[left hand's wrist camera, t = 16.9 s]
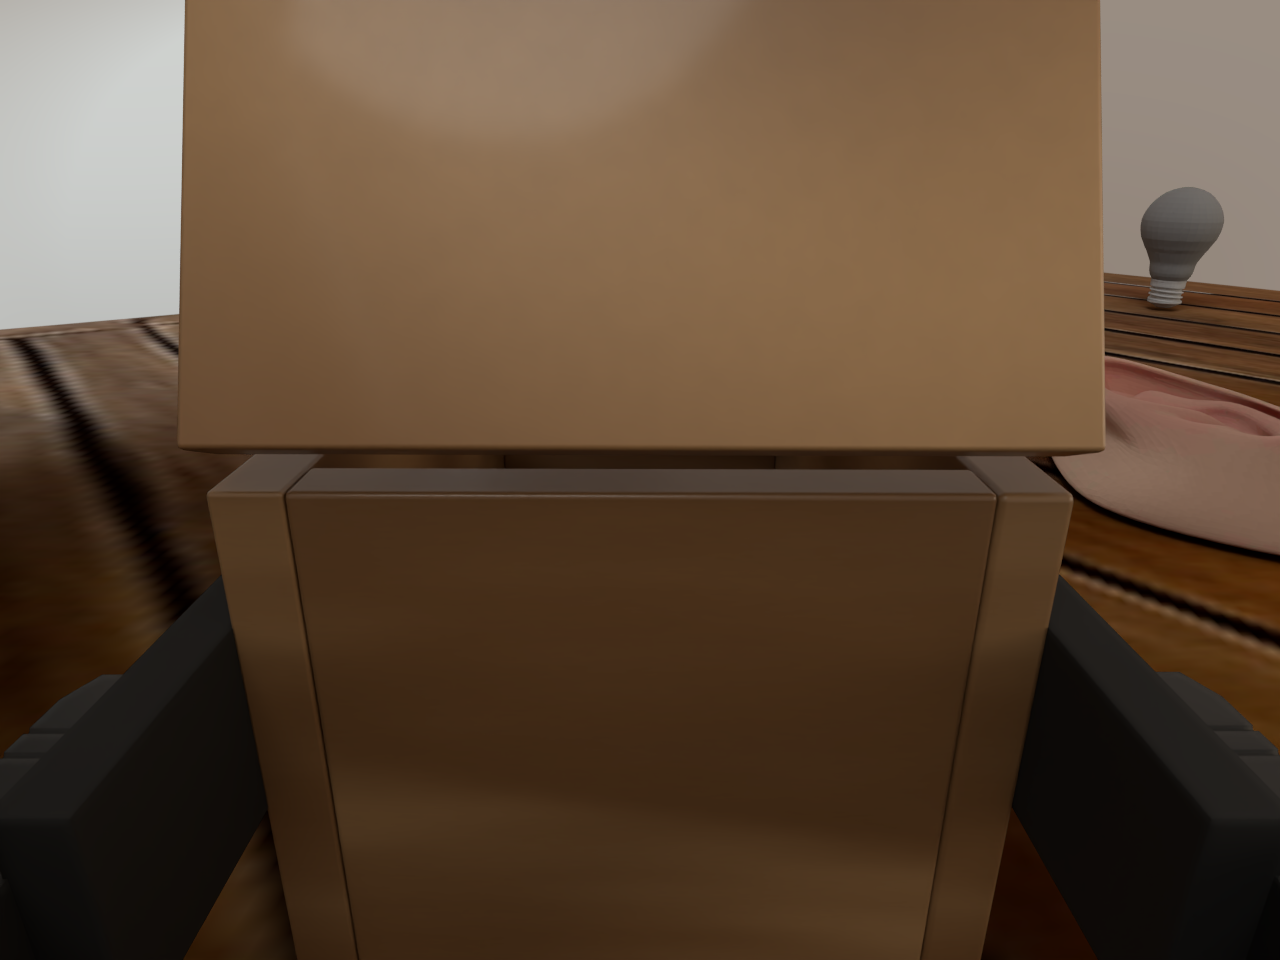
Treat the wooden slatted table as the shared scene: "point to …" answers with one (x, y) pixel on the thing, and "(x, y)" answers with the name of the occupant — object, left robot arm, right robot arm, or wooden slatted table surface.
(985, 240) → the lid
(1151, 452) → the anatomical model
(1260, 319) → the wooden slatted table surface
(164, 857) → the left robot arm
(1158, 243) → the light bulb
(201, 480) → the wooden slatted table surface
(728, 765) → the chest
